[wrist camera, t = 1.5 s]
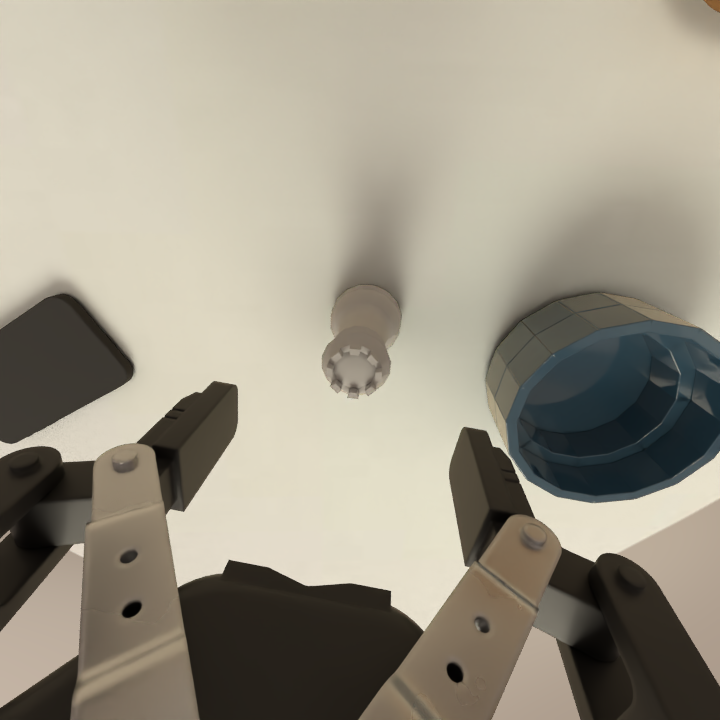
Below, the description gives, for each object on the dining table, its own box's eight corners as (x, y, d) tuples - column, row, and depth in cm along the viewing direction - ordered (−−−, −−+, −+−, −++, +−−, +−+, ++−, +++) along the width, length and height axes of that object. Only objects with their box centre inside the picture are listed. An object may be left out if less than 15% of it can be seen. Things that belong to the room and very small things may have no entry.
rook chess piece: (410, 293, 22) (417, 343, 15) (390, 355, 24) (388, 426, 17) (340, 273, 22) (314, 315, 15) (326, 338, 24) (296, 402, 17)
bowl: (517, 276, 21) (554, 302, 16) (706, 308, 21) (801, 345, 16) (464, 427, 26) (480, 483, 21) (617, 454, 26) (669, 517, 21)
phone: (134, 379, 26) (7, 448, 30) (142, 374, 27) (16, 442, 31) (56, 289, 23) (-72, 377, 27) (66, 286, 24) (-60, 372, 28)
